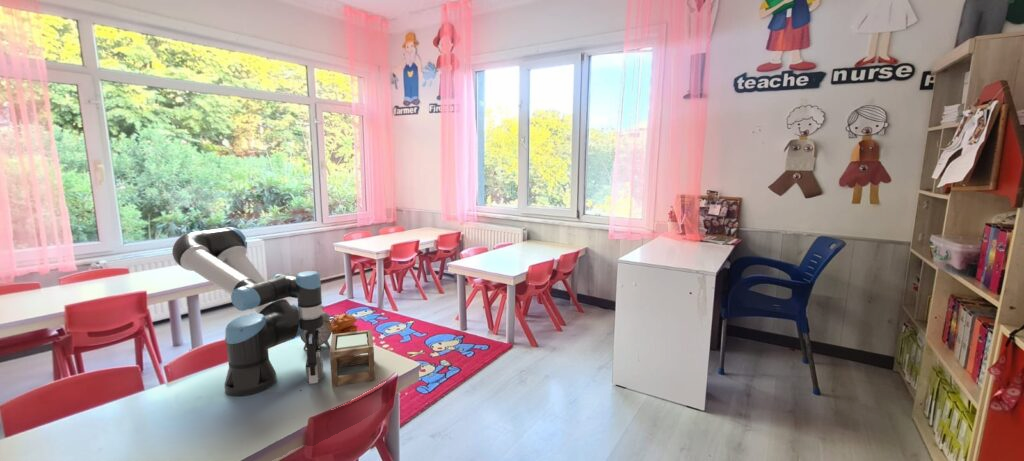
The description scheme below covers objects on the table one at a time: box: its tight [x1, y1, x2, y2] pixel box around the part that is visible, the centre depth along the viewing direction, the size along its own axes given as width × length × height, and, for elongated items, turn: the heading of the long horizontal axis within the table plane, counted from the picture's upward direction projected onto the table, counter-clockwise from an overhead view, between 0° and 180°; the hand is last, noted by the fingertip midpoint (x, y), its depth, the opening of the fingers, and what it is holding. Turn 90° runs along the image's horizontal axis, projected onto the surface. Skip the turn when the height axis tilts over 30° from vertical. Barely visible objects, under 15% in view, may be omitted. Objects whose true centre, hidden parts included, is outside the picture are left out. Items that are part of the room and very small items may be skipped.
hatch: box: [337, 334, 368, 350], centre depth 154 cm, size 10×10×1 cm
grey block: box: [305, 356, 324, 382], centre depth 152 cm, size 5×5×6 cm
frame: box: [329, 329, 376, 388], centre depth 154 cm, size 14×16×12 cm
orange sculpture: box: [330, 311, 359, 358], centre depth 166 cm, size 11×11×18 cm
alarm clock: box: [299, 311, 332, 351], centre depth 175 cm, size 12×7×15 cm, turn 104°
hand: (315, 375), depth 152 cm, fingers open, 10 cm apart
